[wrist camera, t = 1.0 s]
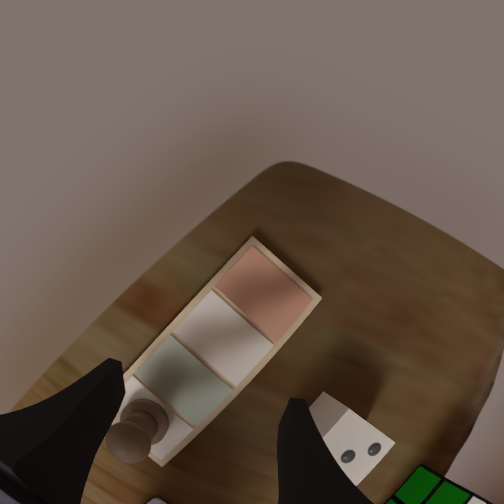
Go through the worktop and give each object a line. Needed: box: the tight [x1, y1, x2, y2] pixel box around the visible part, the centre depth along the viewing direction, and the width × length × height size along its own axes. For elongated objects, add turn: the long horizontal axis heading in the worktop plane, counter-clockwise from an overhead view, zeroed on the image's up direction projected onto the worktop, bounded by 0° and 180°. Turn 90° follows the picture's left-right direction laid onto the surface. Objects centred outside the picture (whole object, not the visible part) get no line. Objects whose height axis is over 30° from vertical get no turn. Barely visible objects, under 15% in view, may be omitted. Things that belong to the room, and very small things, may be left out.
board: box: [112, 236, 322, 467], centre depth 23 cm, size 8×21×1 cm, turn 138°
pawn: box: [106, 399, 169, 464], centre depth 18 cm, size 4×4×7 cm
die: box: [309, 391, 395, 486], centre depth 20 cm, size 6×6×6 cm
